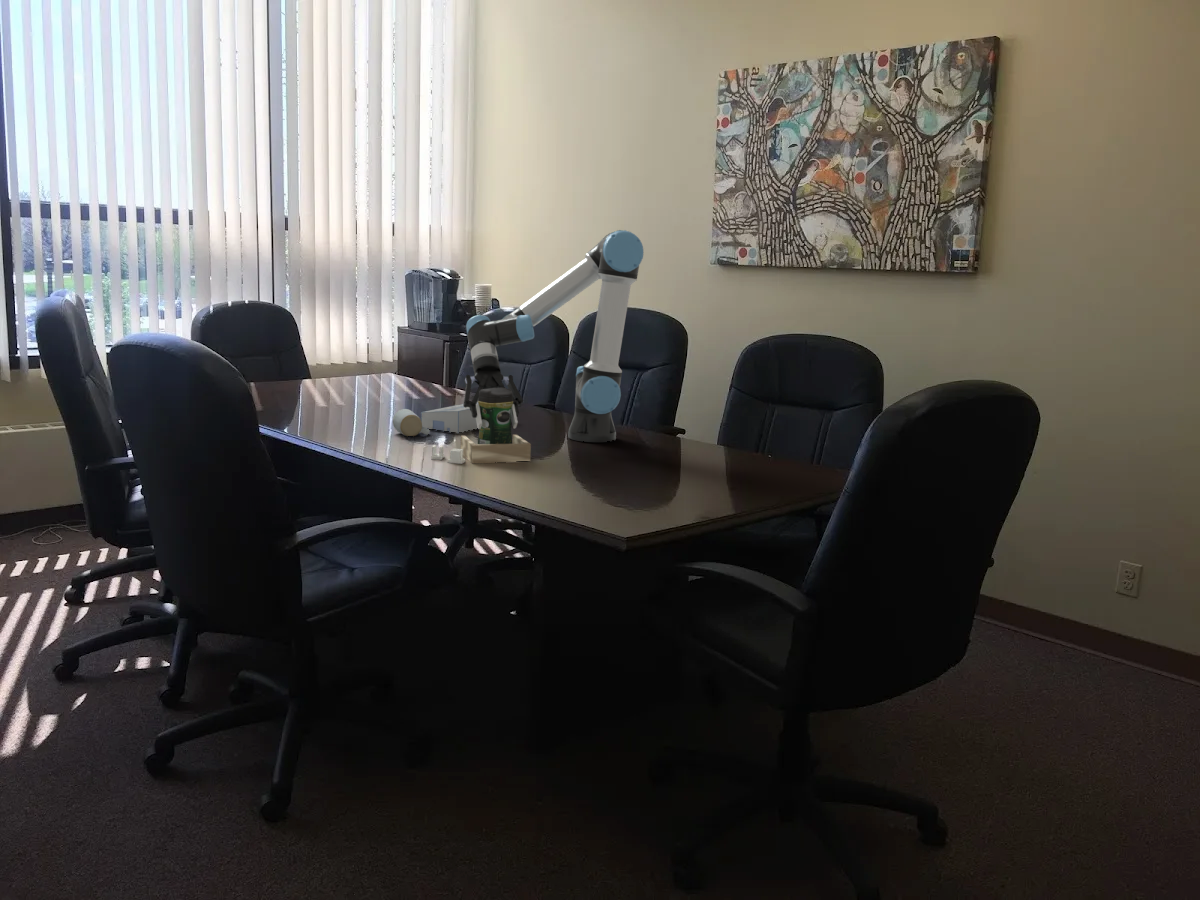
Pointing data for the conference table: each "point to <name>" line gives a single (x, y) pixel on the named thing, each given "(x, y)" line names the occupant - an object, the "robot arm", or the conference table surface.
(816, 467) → the conference table surface
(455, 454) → the cable clips
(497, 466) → the conference table surface
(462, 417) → the white bar
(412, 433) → the ceramic mug
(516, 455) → the wooden u-shaped piece
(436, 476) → the conference table surface
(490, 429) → the coffee jar
